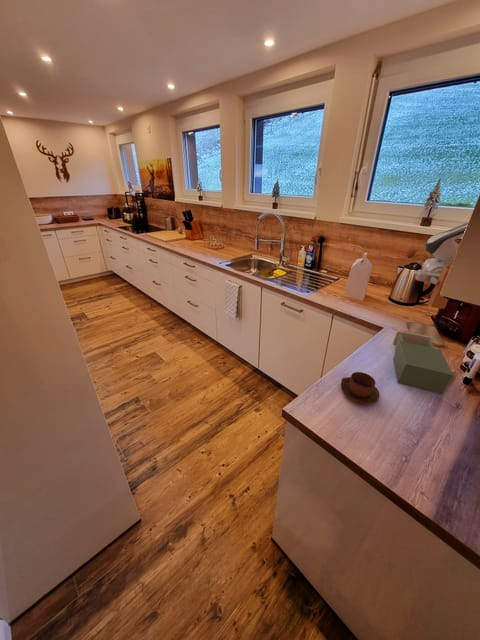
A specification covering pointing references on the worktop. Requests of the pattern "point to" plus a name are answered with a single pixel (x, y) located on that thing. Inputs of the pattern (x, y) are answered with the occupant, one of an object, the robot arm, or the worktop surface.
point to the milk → (358, 279)
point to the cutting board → (426, 332)
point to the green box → (421, 367)
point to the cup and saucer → (360, 388)
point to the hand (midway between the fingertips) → (446, 284)
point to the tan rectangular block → (435, 298)
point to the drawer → (412, 339)
